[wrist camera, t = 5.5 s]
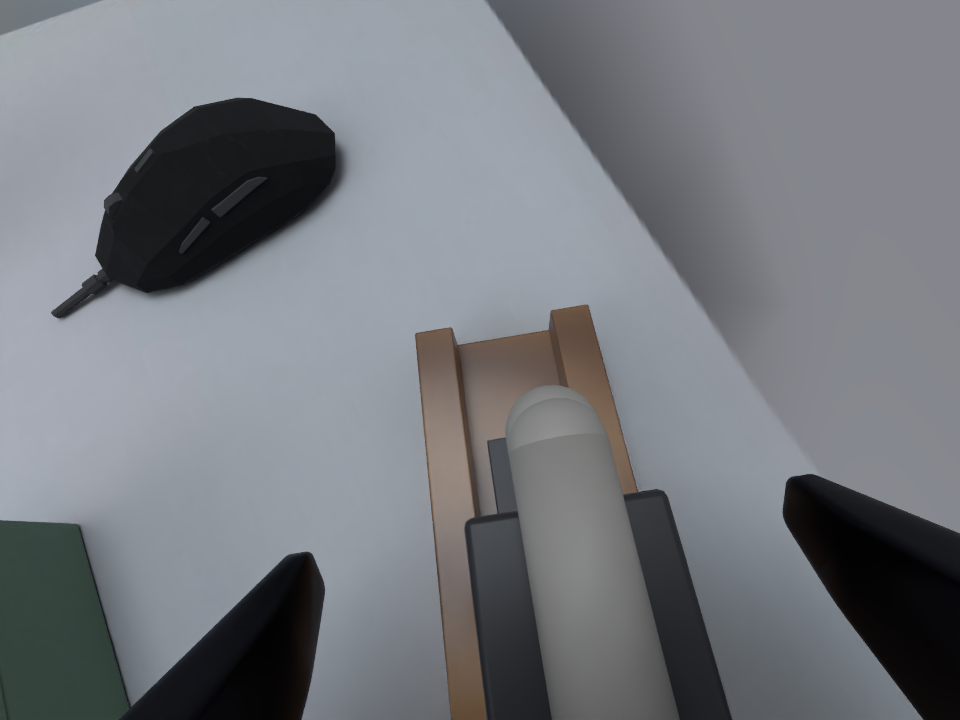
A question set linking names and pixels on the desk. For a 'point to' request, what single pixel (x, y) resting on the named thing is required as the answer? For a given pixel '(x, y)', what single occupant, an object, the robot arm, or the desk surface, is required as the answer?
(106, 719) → the high rail
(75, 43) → the desk surface
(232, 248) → the gaming mouse
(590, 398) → the low rail
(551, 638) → the black hanger
